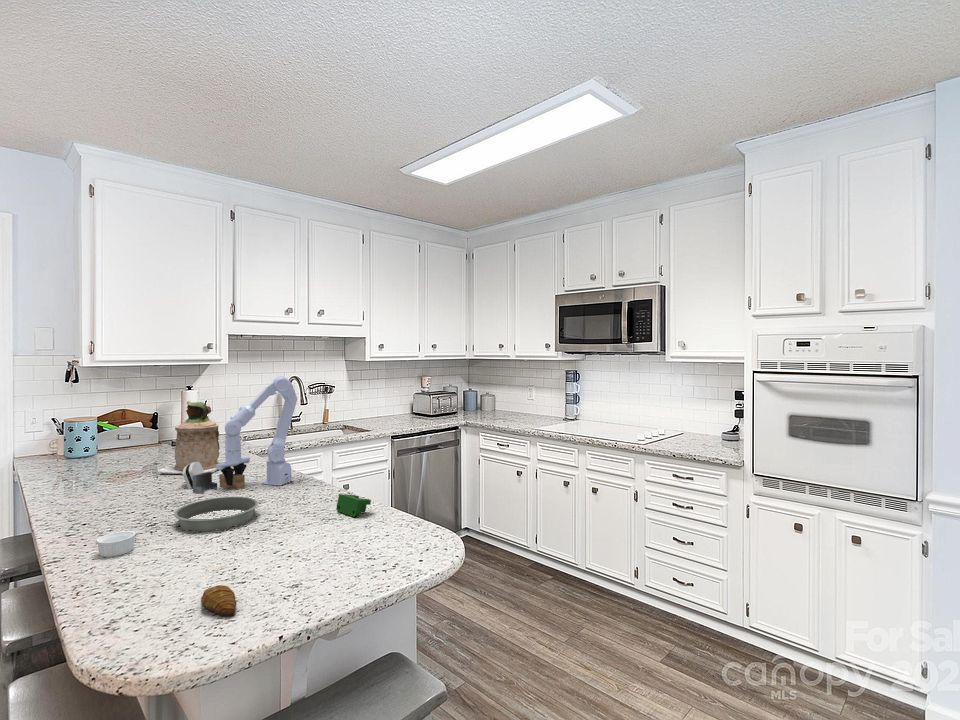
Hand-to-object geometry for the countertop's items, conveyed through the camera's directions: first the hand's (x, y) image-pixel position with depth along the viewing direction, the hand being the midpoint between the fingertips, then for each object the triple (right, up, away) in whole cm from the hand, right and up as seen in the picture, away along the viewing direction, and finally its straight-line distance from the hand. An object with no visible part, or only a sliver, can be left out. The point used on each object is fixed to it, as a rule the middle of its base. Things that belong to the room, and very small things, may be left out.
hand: (233, 483), depth 212 cm
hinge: (-19, -2, +6) cm, 20 cm away
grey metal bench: (-9, -2, -5) cm, 10 cm away
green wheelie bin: (+57, -2, -34) cm, 66 cm away
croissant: (+42, -4, -98) cm, 106 cm away
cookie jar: (-33, -1, +33) cm, 47 cm away
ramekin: (-2, -4, -66) cm, 66 cm away
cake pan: (+13, -3, -40) cm, 42 cm away
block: (-1, -1, 0) cm, 2 cm away
